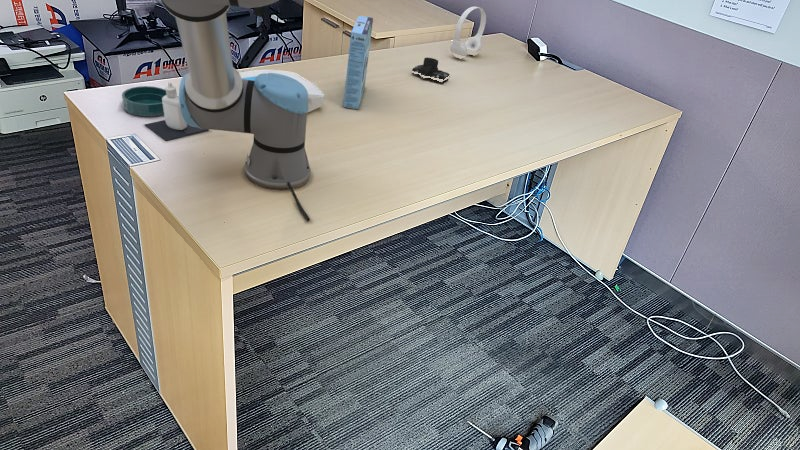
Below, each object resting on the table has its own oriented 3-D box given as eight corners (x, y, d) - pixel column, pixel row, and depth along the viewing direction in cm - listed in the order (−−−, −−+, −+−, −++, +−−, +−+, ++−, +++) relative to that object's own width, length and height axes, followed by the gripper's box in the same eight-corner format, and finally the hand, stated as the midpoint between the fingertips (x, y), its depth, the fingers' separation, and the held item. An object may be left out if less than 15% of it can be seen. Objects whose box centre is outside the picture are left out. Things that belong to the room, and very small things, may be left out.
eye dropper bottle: (171, 133, 151) (164, 89, 144) (164, 123, 155) (157, 79, 148) (188, 129, 154) (182, 85, 146) (181, 119, 157) (175, 76, 150)
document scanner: (201, 98, 172) (200, 77, 168) (283, 84, 190) (284, 65, 186) (241, 127, 160) (241, 105, 157) (324, 110, 179) (326, 90, 175)
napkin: (208, 130, 156) (208, 129, 156) (165, 141, 148) (165, 139, 148) (187, 116, 161) (187, 114, 161) (144, 125, 153) (144, 123, 153)
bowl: (181, 111, 163) (180, 99, 161) (138, 121, 154) (137, 108, 152) (157, 95, 169) (156, 83, 167) (114, 103, 160) (113, 90, 158)
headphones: (483, 57, 249) (495, 7, 238) (458, 63, 236) (470, 12, 226) (469, 51, 253) (480, 2, 242) (444, 57, 240) (454, 6, 229)
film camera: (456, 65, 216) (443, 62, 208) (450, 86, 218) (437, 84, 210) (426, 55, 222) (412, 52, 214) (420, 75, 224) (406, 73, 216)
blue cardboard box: (358, 110, 183) (368, 35, 170) (341, 107, 183) (350, 32, 170) (365, 87, 199) (374, 17, 187) (349, 84, 199) (358, 14, 186)
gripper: (270, -82, 143) (267, 9, 155) (175, -85, 127) (179, 17, 138) (291, -75, 140) (285, 17, 151) (195, -77, 123) (197, 27, 134)
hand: (235, 17), depth 145 cm, fingers open, 13 cm apart
